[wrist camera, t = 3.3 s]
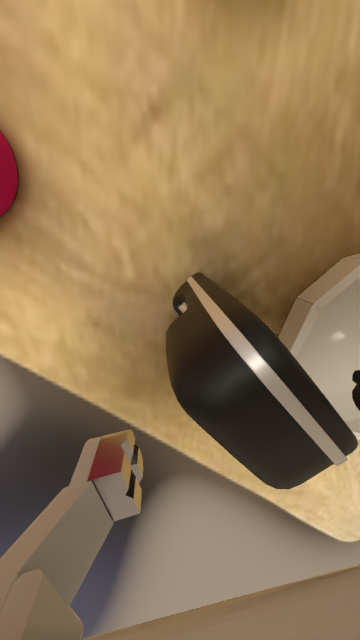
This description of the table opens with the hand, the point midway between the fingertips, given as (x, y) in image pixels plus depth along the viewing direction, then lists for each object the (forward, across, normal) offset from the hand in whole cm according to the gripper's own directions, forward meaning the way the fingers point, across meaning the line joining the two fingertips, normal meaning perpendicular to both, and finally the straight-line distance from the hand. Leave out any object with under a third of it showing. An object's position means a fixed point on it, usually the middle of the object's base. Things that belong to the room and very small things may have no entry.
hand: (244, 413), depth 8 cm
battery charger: (+10, -1, 0) cm, 10 cm away
